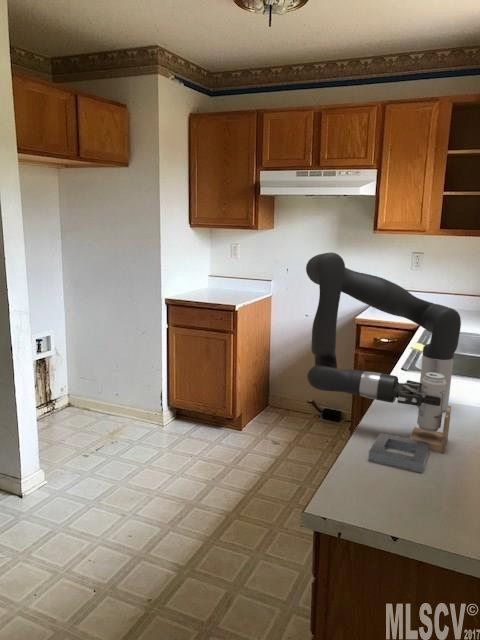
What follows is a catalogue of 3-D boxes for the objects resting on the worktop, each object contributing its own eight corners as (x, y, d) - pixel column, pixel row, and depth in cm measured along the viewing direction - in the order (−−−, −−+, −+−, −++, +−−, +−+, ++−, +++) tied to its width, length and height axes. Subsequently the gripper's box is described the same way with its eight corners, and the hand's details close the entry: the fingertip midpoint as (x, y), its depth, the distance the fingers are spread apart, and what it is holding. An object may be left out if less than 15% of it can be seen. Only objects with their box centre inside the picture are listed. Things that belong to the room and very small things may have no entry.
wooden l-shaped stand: (413, 433, 149) (417, 400, 147) (447, 440, 145) (451, 406, 143) (408, 445, 141) (411, 410, 139) (443, 453, 137) (447, 417, 135)
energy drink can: (438, 434, 138) (445, 380, 135) (415, 429, 141) (421, 376, 137) (441, 426, 143) (448, 374, 140) (418, 421, 146) (424, 370, 143)
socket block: (379, 441, 143) (380, 432, 143) (429, 451, 138) (430, 443, 137) (368, 460, 132) (369, 451, 131) (422, 473, 126) (423, 463, 126)
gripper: (374, 380, 139) (440, 392, 132) (385, 367, 152) (446, 377, 144) (371, 407, 141) (437, 420, 133) (382, 391, 153) (443, 403, 146)
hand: (441, 398), depth 139 cm, fingers closed on energy drink can, 6 cm apart
